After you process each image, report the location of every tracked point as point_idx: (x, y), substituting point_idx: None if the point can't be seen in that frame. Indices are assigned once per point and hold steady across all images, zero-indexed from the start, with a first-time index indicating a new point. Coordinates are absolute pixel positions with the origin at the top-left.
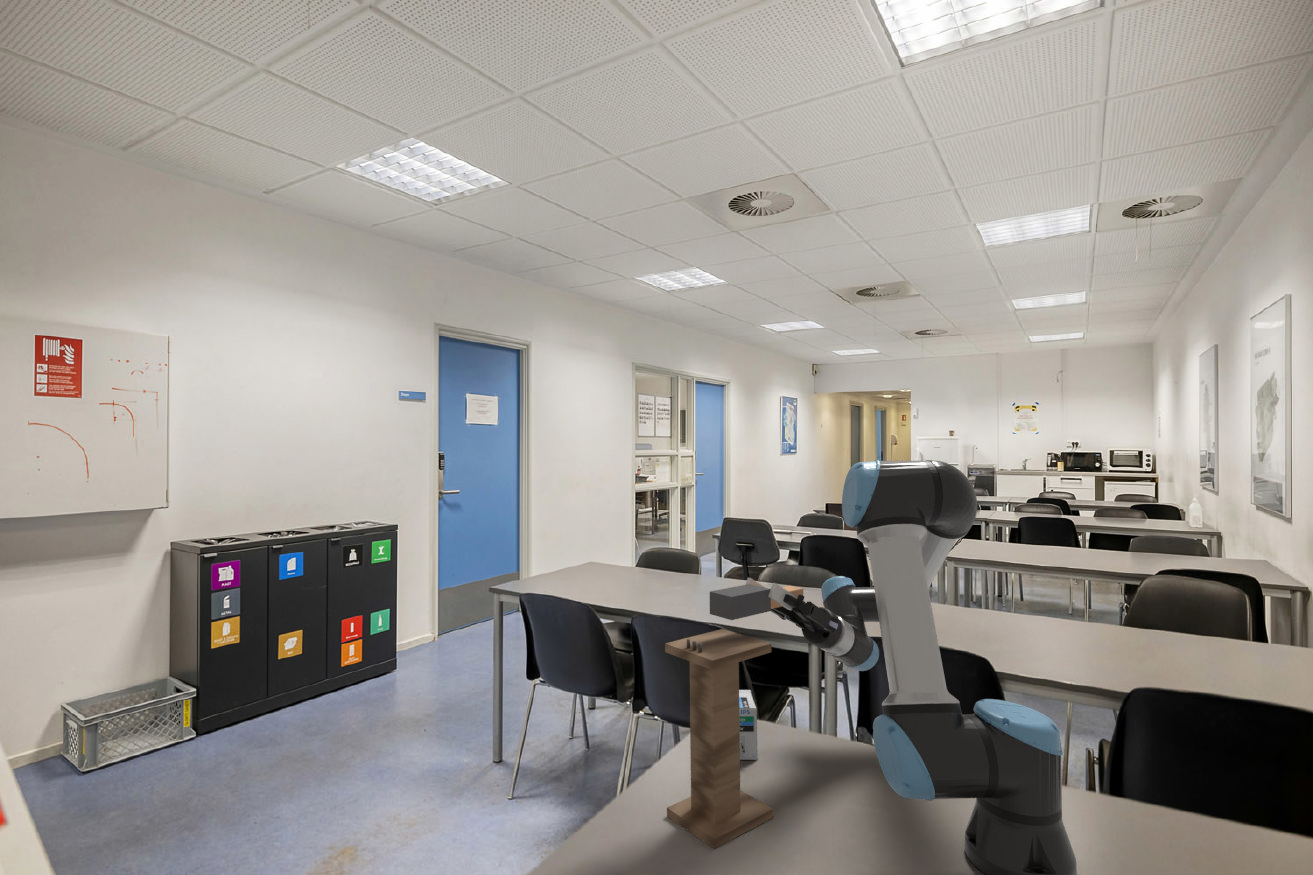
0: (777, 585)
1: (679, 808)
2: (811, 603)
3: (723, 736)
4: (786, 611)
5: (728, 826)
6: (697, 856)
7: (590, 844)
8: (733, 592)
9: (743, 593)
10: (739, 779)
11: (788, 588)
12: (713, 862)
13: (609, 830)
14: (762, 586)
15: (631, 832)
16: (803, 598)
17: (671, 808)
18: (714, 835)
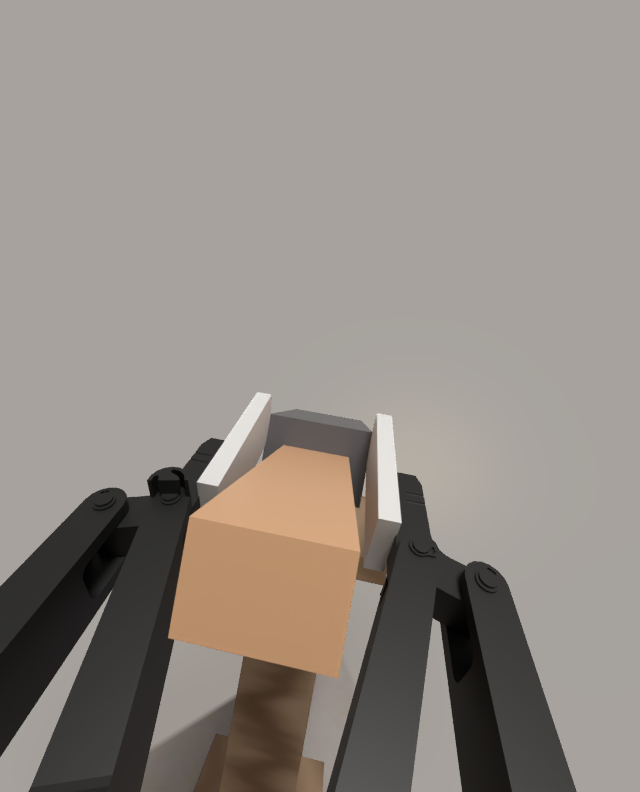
0: (253, 400)
1: (307, 775)
2: (94, 496)
3: None
4: (330, 781)
5: (209, 782)
6: (227, 717)
7: None
8: (320, 415)
9: (297, 411)
10: (220, 788)
11: (293, 501)
12: (202, 719)
13: (346, 696)
14: (377, 465)
15: (325, 708)
16: (152, 487)
17: (316, 765)
18: (219, 742)
